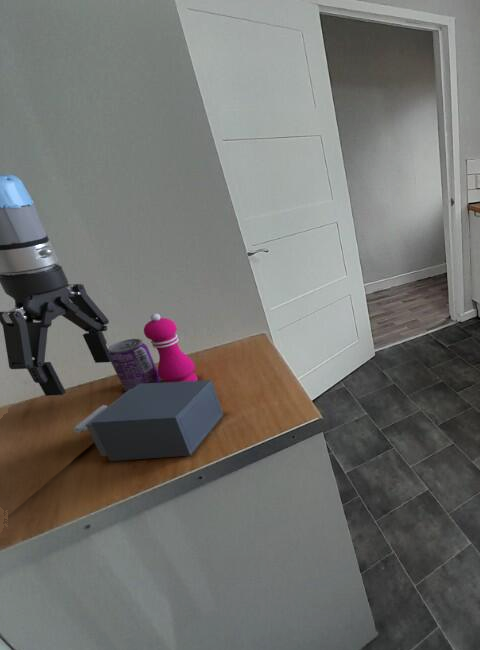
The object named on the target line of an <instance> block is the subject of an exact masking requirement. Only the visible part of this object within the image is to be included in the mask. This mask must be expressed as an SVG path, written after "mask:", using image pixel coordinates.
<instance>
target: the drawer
mask: <svg viewBox="0 0 480 650" xmlns="http://www.w3.org/2000/svg"><path fill="white" fill-rule="evenodd" d="M130 390H132V389H129V390H128V391H125V392H124V393H123V394H122V395H121V396H120V397H118V398H117V399H115V400H114V401H113V402H112V403H110V404H109V405H108V406H107V405H105V404H102V405H101V406H99V407H98V408H97V409H95V410H94V411H93V412H91V414H89V415H88V416H86V417H85V418H84V419H82V421H80V422H79V423H77V424H76V425H75V426H74V427H73V428H72V432H73V433H75V434H81V433H83V432H84V431H85V432H86V431H88V432H89V435H90V437H91V439H92V440H93V442H94V444H95V446H96V448H97V450H98V452H99V454H100V456H101V457H108V455H107V453H106V451H105V449H104V447H103V445H102V443H101V441H100V439H99V437H98V435H97V433H96V431H95V429H94V427H93V425H92V423H91V422H92V421H94V420H95V419H96V418H97V417H99V416H100V415H101V414H102V413H103V412H105V411H106V410H107V409H108V408H110V407H111V406H112V405H113V404H115V403H116V402H117V401H118V400H119V399H121V398H122V397H123V396H124V395H126V394H127V393H128V392H129V391H130Z"/></svg>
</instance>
